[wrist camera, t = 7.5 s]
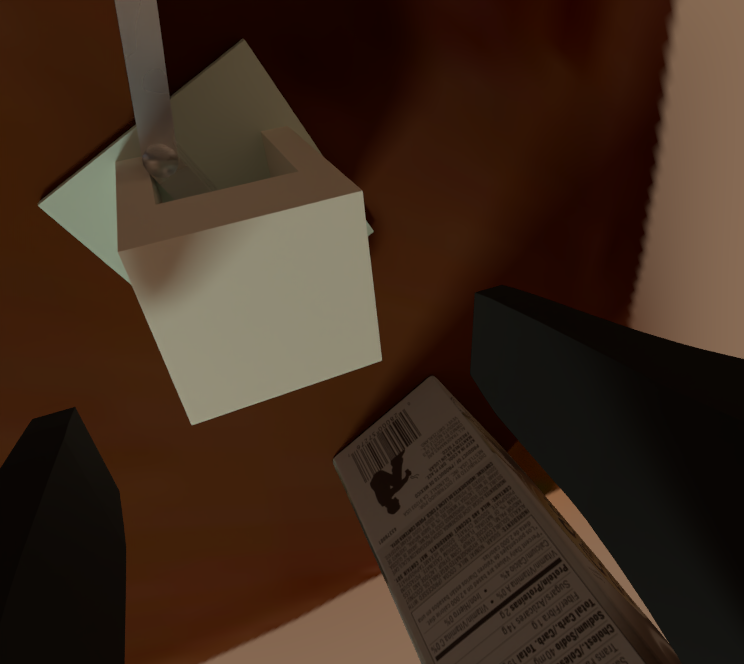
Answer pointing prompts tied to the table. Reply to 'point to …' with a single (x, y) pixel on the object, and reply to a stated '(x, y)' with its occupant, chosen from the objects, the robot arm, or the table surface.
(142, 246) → the u block
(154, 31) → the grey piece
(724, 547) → the robot arm
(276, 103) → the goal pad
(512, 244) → the table surface
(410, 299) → the table surface
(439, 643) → the coffee box
